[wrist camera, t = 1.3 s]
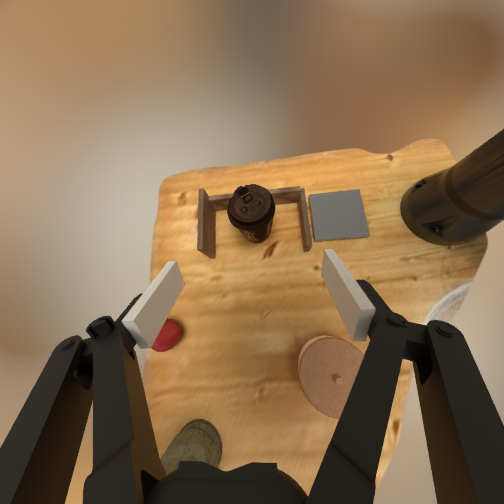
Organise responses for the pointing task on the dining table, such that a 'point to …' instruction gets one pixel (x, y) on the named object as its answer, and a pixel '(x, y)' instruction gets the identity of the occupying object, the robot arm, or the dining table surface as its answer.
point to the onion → (167, 336)
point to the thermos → (194, 446)
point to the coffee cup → (252, 212)
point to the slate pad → (338, 216)
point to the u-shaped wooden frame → (221, 203)
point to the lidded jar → (328, 372)
